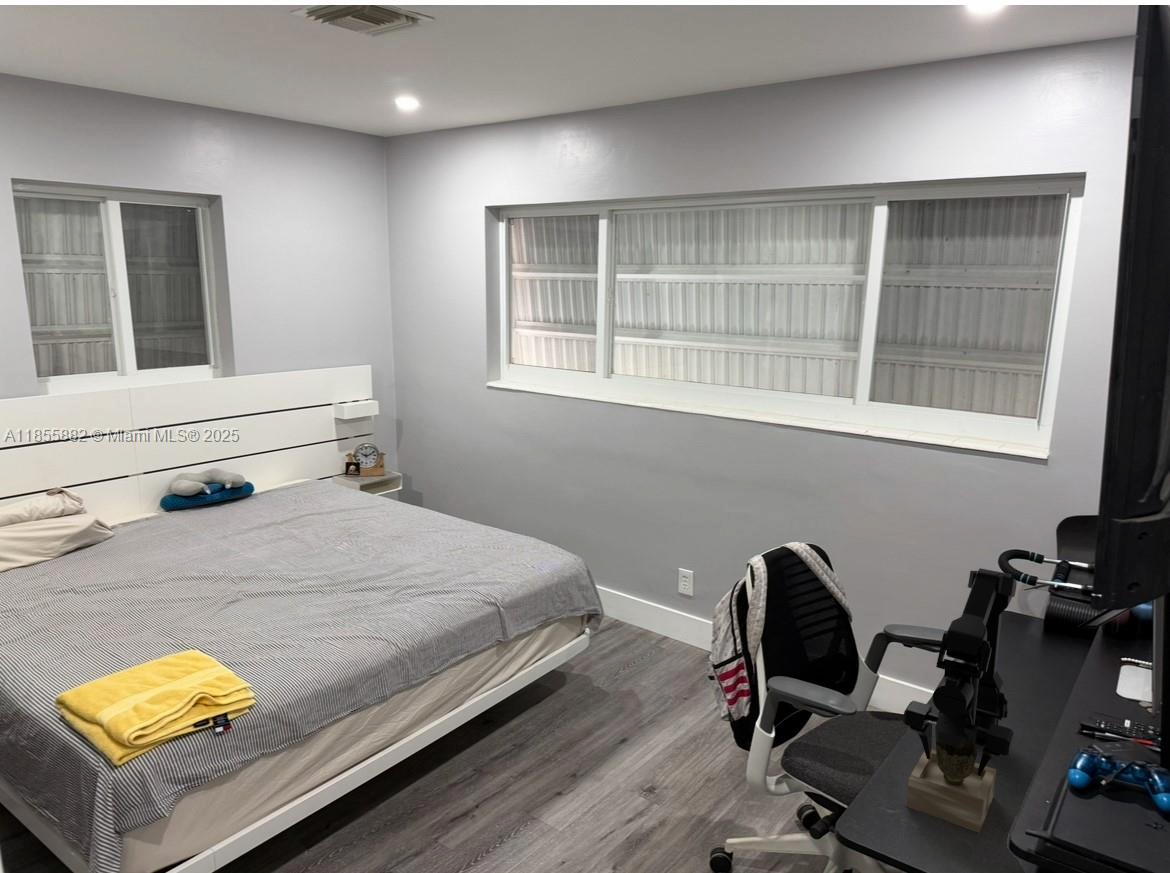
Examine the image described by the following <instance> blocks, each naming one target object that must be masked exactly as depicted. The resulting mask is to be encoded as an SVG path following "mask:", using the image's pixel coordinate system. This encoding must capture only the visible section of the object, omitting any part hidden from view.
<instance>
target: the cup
mask: <svg viewBox="0 0 1170 873" xmlns="http://www.w3.org/2000/svg"><path fill="white" fill-rule="evenodd" d="M978 749H979V748H978V746H976V743H975V744H971V743H969V744H968V745H967V744H964V745H963V747H962V748H960V749H957V748H954V747H953V746H950V745H947V744H941V743H939V742H937V741H936V740H935V750H936V757H937V764H938V767H939V769H940V770H941V772H942V773H943V777H944V779H945V781H946V782H948V783H949V784H952V785H961V784H962V783H963V782H964V779H965V778H967V777H968V776H969V775H970V774H971V773H972V771H973V768H974V765H975V763H976V760H977V756H978V753H979V750H978Z"/></svg>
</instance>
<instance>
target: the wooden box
mask: <svg viewBox="0 0 1170 873" xmlns="http://www.w3.org/2000/svg"><path fill="white" fill-rule="evenodd" d="M979 765H980V763H976V762H975V765H974V768H973V771H972V773H971V774H970V775H969V776H968V777H967V778H965V779H964V782H963V783H962V784H961V785H952V784H949V783H948V782H946V781H945V779H944V777H943V773H942V772H941V770H940V769H939V767H938V764H937V757H936V749H934V748H932V750H931V756H930V759H927V757H926V754H925V751H924V750H923V753H922V754H921V756H920V758H919V760H918V761H917V763H916V765H915V767H914V769H913V770H912V772H911V774H910V775H909V777H908V784H907V785H908V786H907V795H906V796H907V797H906V807H908V808H910V809H913V810H915V811H918V812H921V813H924V814H926V815H929V816H931V817H935V818H938V819H940V820H942V821H945V822H948V823H951V824H954V825H956V826H958V827H962V828H965V829H967V830H969V831H973V832H975V833H978V834H980V833H981V830H982V828H983V826H984V822H985V820H986V817H987V814H988V812H989V809H990V806H991V804H992V801H993V799H994V795H995V786H996V785H995V784H996V775H997V769H995V768H993V767H992V768H991V767H989V766H987V765H986V766H985V768H984V770H983V772H982V774H981V776H978V769H979Z"/></svg>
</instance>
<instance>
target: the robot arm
mask: <svg viewBox="0 0 1170 873" xmlns="http://www.w3.org/2000/svg"><path fill="white" fill-rule="evenodd" d="M1017 583H1018V582H1017V579H1015V578H1014V576H1012V574H1011V573H1006V572H1002V571H997V570H992V569H991V570H990V569H986V568H980V567H979V568H978V570H976V569H975V570H970V572H969V577H968V584H967V588H969V589H970V592H969V594H968V597H967V600H966V601H965V602H966V603H965V605H964V608H963V611H962V614H961V615H960V617H958V618H956V619H953V620H952V621H951V622H950V625H949V626H948V628H947V630H945V631H944V632H943V634H942V637H941V638H942V639H941V643H940V648H939V652H938V656H937V661H936V666H935V667H936V668H937V669H941V670H944V673H943V676H942V678H941V680H940V682H938V685H937V686H936V688H935V690H934V691H933V693H932V702H933V704H934V706H935V708H936V709H937V710H938V711H939V712H938V713H933V712H932V711H933V710H932V709H933V707H932V705H931V704H927V703H923V702H921V701H916V700H912V701H910V702H909V704H908V705H907V706H906V708H905V709H904V712H903V717H902V718H903V719H902V723H903V724H904V725H906V726H909V728H910V730H912V731H915V733H917V735H918V736H919V738H920V741H921V744H922V747H923V752H924V751H925V754H926V757H927V759H930V756H931V750H932V749H933V744H932V743H933V742H932V741H933V725H935V730H934V731H935V737H934V738H935V742H936V741H937V742H939V743H941V744H947V745H950V746H953V747H954V748H957V749H960V748H962V747H963V745H964V744H967V745H968V744H969V743H971V744H975V745H976V744H978V745H980V746H983V745H984V747H983V749H982V753H981V758H980V761H979V764H980V765H979V769H978V776H981V774H982V772H983V770H984V768H985V766H986V767H987V764H988V763H989V762H990V760H991V759H992V758H993V757H994V756H995V757H1001V756H1009V754H1010V752H1011V750H1012V747H1013V745H1014V742H1015V741H1014V740H1015V732H1014V731H1013V729H1012V728H1010V727H1006V726H1002V725H999V721H1002V720H1003V719H1008V716H1009V700H1007V695H1006V693H1005V692H1004V681H1003V678H1001V676H1000V674H999V672H998V671H997V670H998V669H997V667H998V661H999V660H998V658H999V648H1000V647H999V646H1000V637H1001V629H1002V628H1001V626H1002V618H1003V617H1002V615H1003V612H1004V611H1005V610H1006V609H1007V608H1008V607H1009V605H1010V603H1011V601H1012V598H1014V597H1015V596H1016V592H1017V585H1018V584H1017ZM945 656H946V657H948V659H947V658H945ZM949 658H951V659H952V660H951V659H949Z"/></svg>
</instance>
